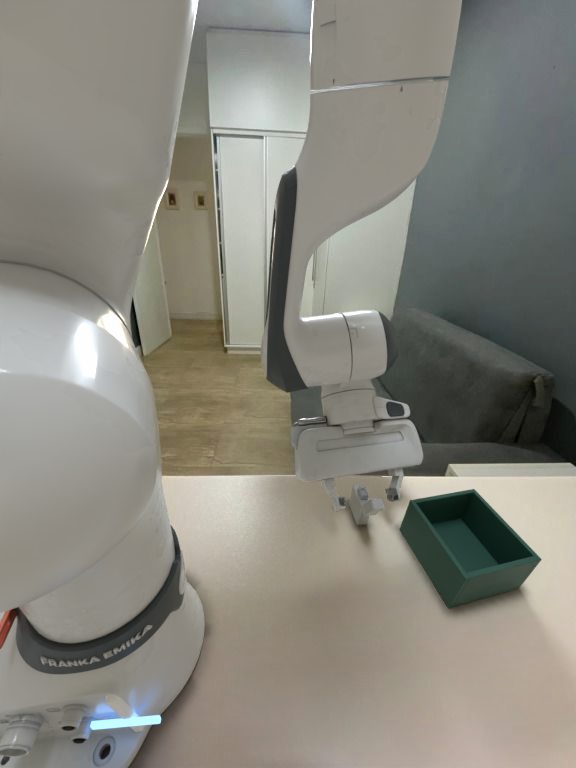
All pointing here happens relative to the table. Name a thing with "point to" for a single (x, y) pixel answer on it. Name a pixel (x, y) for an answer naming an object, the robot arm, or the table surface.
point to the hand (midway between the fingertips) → (367, 505)
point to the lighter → (363, 504)
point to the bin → (466, 547)
